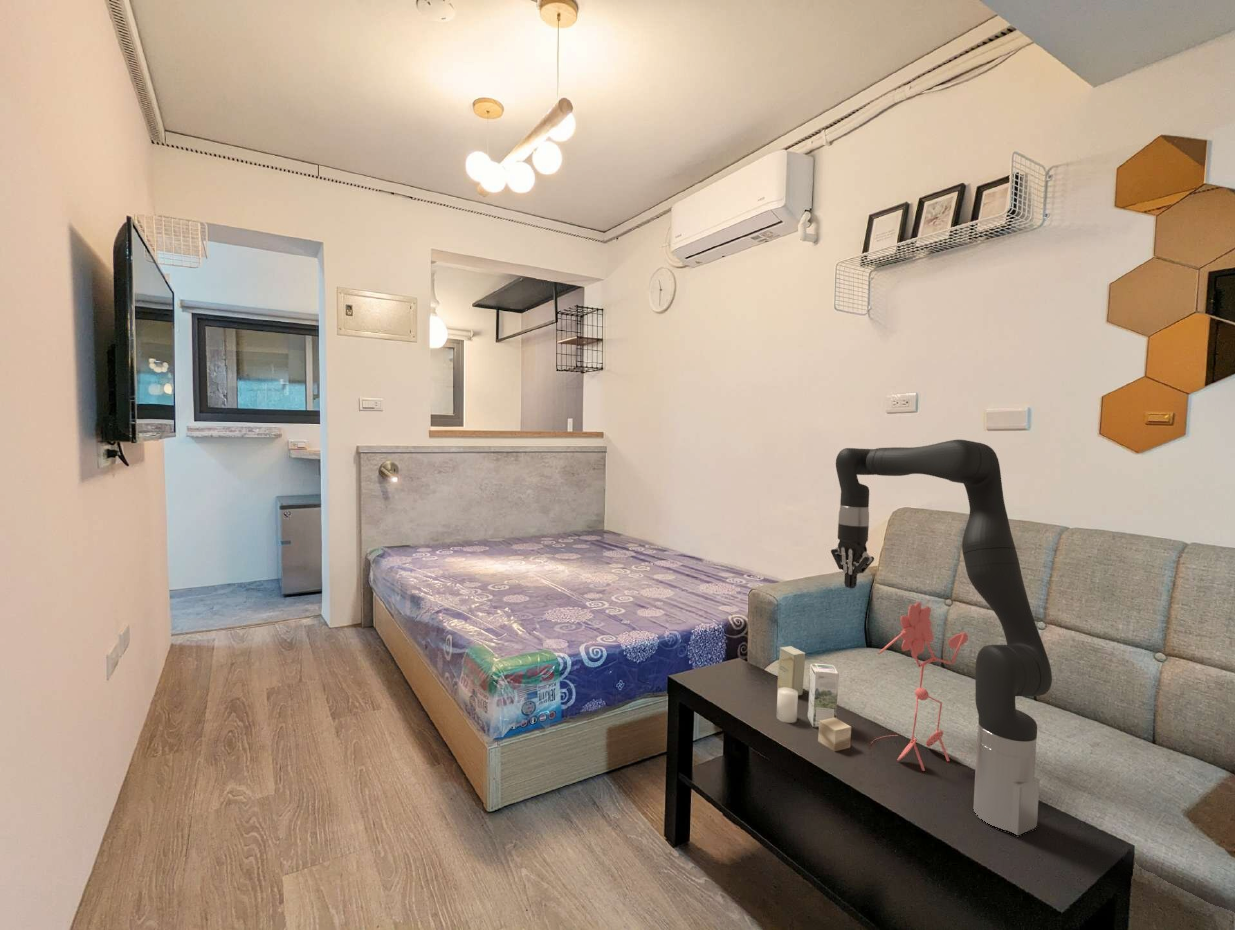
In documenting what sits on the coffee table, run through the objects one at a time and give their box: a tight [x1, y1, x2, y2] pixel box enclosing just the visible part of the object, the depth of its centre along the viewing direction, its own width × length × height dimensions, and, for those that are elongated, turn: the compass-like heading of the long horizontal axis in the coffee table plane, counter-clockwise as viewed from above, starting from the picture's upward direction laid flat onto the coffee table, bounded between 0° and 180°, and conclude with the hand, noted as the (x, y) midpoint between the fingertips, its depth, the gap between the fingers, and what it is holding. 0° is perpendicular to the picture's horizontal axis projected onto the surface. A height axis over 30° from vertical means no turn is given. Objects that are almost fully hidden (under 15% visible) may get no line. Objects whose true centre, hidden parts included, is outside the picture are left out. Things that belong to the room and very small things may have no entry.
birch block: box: [817, 717, 852, 752], centre depth 136 cm, size 5×5×5 cm
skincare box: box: [776, 645, 806, 696], centre depth 165 cm, size 6×4×12 cm
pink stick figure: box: [869, 601, 969, 772], centre depth 134 cm, size 15×26×35 cm, turn 119°
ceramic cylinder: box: [776, 687, 799, 724], centre depth 148 cm, size 5×5×7 cm
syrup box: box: [806, 662, 840, 729], centre depth 146 cm, size 6×6×14 cm
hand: (850, 587), depth 154 cm, fingers closed
